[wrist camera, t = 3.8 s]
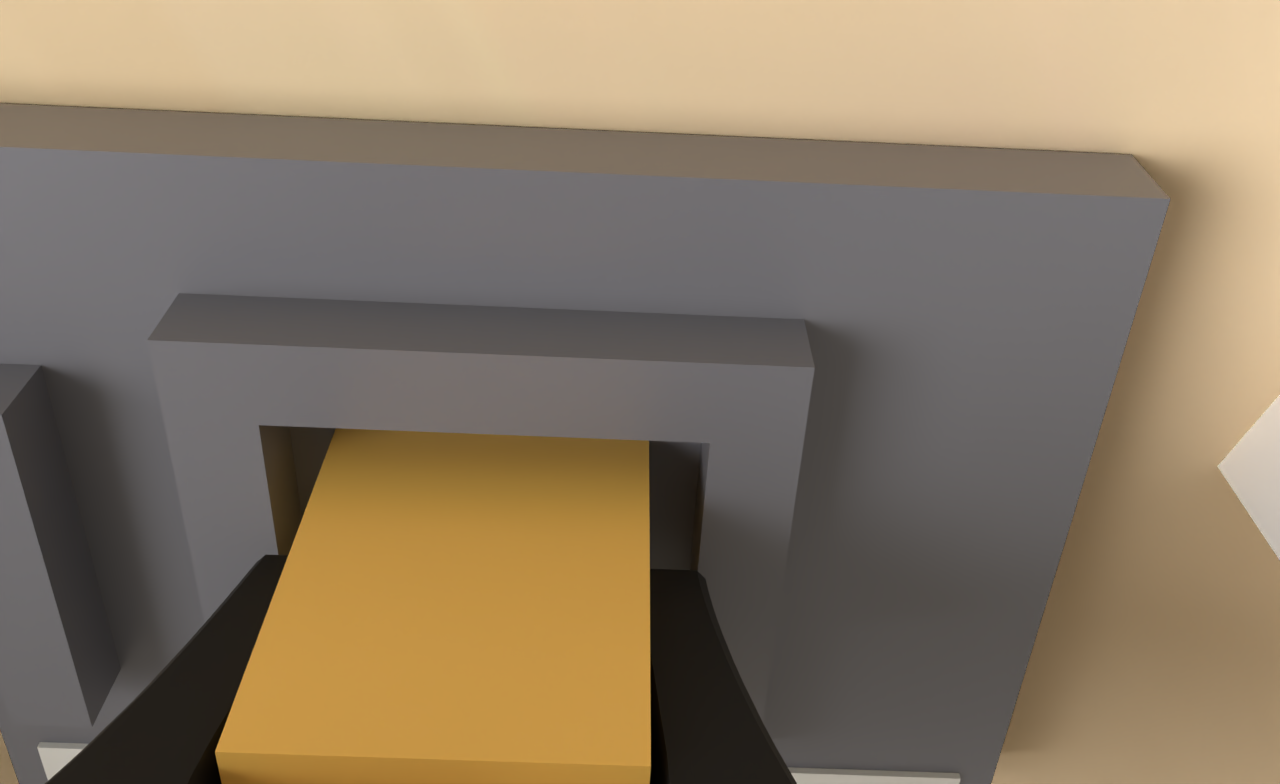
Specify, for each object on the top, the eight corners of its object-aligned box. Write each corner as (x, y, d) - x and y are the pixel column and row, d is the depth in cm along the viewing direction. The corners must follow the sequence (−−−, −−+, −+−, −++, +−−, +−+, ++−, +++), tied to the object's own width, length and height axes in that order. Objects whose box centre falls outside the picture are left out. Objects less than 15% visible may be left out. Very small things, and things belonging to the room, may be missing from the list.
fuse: (363, 647, 16) (233, 1127, 11) (338, 422, 14) (166, 880, 9) (635, 657, 16) (632, 1137, 11) (648, 434, 14) (652, 893, 9)
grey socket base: (55, 727, 19) (-9, 851, 17) (-144, 96, 13) (-270, 177, 11) (961, 758, 19) (994, 883, 17) (1131, 154, 14) (1208, 241, 12)
